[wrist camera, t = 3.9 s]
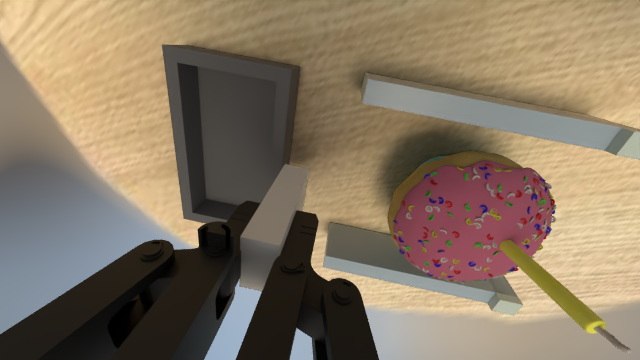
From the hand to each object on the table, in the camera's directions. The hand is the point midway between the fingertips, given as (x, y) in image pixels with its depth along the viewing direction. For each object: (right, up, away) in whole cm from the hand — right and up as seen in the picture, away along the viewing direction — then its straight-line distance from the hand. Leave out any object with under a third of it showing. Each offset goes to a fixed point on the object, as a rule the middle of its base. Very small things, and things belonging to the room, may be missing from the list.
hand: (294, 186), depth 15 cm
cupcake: (+11, 0, +4) cm, 11 cm away
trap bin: (-4, +3, +4) cm, 7 cm away
